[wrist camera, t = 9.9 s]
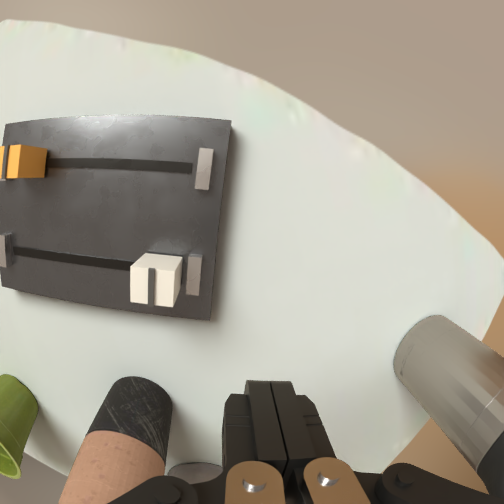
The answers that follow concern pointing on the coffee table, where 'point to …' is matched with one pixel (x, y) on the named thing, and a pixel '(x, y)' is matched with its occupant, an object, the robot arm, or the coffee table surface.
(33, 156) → the fader orange
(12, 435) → the plant pot
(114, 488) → the travel mug
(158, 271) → the fader white
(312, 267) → the coffee table surface
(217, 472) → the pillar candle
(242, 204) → the coffee table surface
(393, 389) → the coffee table surface
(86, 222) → the board
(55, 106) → the coffee table surface
